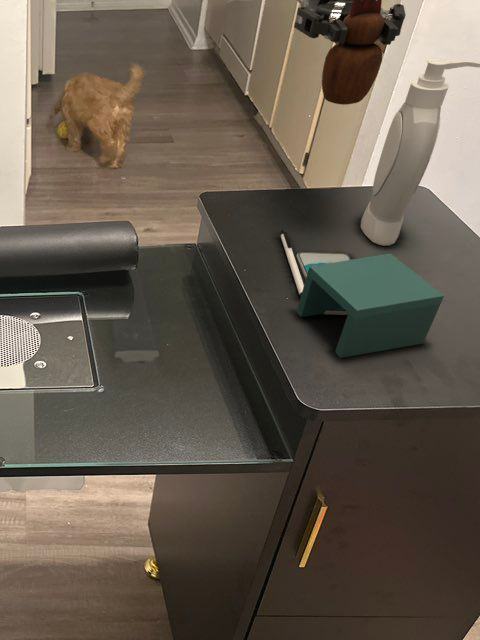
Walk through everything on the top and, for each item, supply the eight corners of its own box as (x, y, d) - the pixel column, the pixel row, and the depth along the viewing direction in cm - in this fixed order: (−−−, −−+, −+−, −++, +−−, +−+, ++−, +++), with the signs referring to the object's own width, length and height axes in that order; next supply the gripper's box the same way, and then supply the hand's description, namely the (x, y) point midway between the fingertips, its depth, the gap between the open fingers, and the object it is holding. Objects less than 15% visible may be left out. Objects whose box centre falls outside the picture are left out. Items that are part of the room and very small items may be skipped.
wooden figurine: (318, 107, 99) (348, -15, 89) (313, 93, 103) (342, -26, 93) (372, 109, 97) (409, -16, 87) (365, 93, 101) (400, -27, 92)
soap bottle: (424, 254, 103) (495, 78, 87) (365, 250, 105) (424, 76, 89) (408, 212, 113) (470, 46, 97) (354, 209, 114) (406, 45, 99)
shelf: (373, 299, 96) (390, 253, 91) (423, 343, 88) (444, 295, 84) (295, 312, 94) (309, 266, 90) (340, 358, 87) (357, 310, 82)
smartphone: (348, 253, 104) (380, 313, 93) (346, 258, 105) (377, 318, 93) (295, 251, 105) (321, 310, 94) (294, 256, 105) (319, 316, 94)
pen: (284, 233, 110) (286, 227, 109) (308, 304, 95) (310, 297, 95) (278, 233, 110) (280, 227, 109) (301, 304, 96) (303, 297, 95)
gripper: (288, -25, 103) (314, 6, 91) (396, -29, 101) (438, 2, 89) (277, 31, 108) (300, 68, 96) (380, 29, 106) (417, 66, 94)
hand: (366, 36), depth 92 cm, fingers closed on wooden figurine, 5 cm apart
